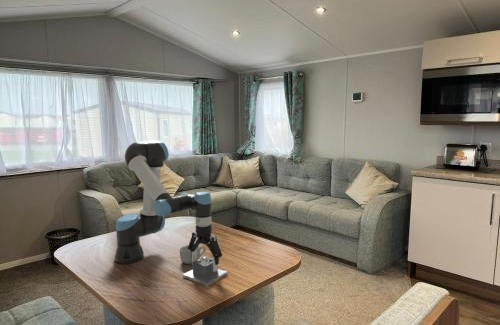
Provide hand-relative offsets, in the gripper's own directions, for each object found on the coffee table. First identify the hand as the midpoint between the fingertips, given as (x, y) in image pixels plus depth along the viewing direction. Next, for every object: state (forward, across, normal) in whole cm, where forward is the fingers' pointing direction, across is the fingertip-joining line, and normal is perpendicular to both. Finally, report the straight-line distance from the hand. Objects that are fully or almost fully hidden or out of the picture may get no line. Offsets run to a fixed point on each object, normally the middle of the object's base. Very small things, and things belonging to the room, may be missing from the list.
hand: (204, 267), depth 162 cm
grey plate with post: (+4, 0, 0) cm, 4 cm away
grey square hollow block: (+3, 0, 0) cm, 3 cm away
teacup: (+5, -17, +9) cm, 20 cm away
